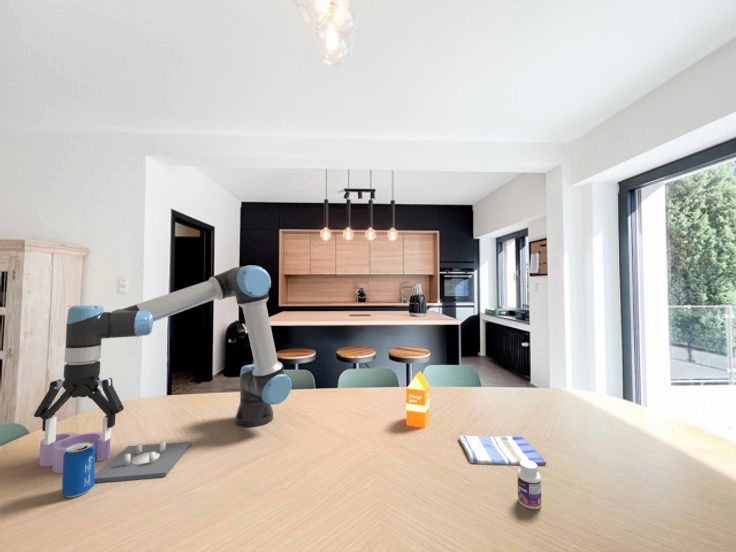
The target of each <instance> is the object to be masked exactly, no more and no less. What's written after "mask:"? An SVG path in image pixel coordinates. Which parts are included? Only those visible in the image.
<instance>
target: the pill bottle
mask: <svg viewBox="0 0 736 552" xmlns="http://www.w3.org/2000/svg"><path fill="white" fill-rule="evenodd" d="M516 474H517V500H518V503H519V504H520V505H522V506H523V507H525V508H527V509H530V510H539V509H541V507H542V477H541V475H540V473H539V472H538V465H537V464H536V463H534V462H532V461H529V460H522V461H521V462H520V465H519V469H518V470H517V473H516Z"/></svg>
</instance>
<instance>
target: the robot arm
mask: <svg viewBox="0 0 736 552" xmlns="http://www.w3.org/2000/svg"><path fill="white" fill-rule="evenodd" d="M271 284H272V280H271V276H270V274H269V273H268V271H267V270H266V269H265V268H263V267H261V266H259V265H251V264H250V265H246V266H245V265H244V266H237V267H233V268H230V269H228V270H225V271H223V272H221V273H219V274H215V275H213V276H210V277H209V278H208V280H206V281H203V282H200V283H197V284H194V285H190V286H187V287H184V288H182V289H178V290H176V291H173V292H169V293H167V294H164V295H161V296H158V297H154V298H151V299H149V300H146V301H142V302H140V303H139V302H138V303H136V304H134V305H130V306H128V307H125V308H118V309H115V310H112V311H111V312H110V311H105V310H104V306H103V305H73V306H70V307H69V308H68V310H67V317H66V322H65V323H66V326H65V328H66V329H65V348H64V360H63V361H64V363H66V364H65V365H64V366H63V378H64V380H62V379H60V378H59V379H56V380H52V381H51V382H49V385H48V391H47V392H46V393H45V396H44V397H43V399H42V400H41V402H40V403H39V405H38V407H37V409H36V411H35V412H34V413H33V417H34V418H39V419H42V426H41V427H42V430H41V431H42V432H44V439H45V443H44V445H48V444H50V443H52V442H54V441H56V434H57V423H58V416H57V415H56V413H57V412H58V411H59V410H60V409H61V407H63V405H64V404H65V403H67V402H68V401H69V399H70V398H73V399H75V398H78V397H79V398H86V397H87V398H88V399H90V400H92V401H93V402H94V403H95V404H96V405H97V407H98V408H100V410H101V411H102V412H103V413H104V414H105V415H104V416H103V417H102V442H105V441H107V440H108V439H110V440H111V438H112V428H113V427H115V425H116V414H119V413H121V412H123V411H124V409H125V408H124V407H125V406H124V404H123V403H122V401H121V399H120V397H119V395H118V393H117V391H116V389H115V387H114V385H113V378H112V377H108V378H105V379H100V374H101V361H100V359H101V356H102V355H101V354H102V353H101V352H102V339H103V340H105V339H111V338H112V339H115V338H116V339H117V338H130V337H131V338H132V337H134V338H135V337H137V338H139V337H144V336H149V335H151V333H152V332H153V327H154V322H156V321H157V322H158V321H159V320H162V319H164V318H168V317H170V316H173V315H175V314H178V313H181V312H184V311H186V310H189V309H192V308H195V307H198V306H199V305H203V304H206V303H208V302H211V301H214V300H218V301H220V300H223V299H226V298H232V297H235V300H236V305H238V306H239V307H241V308H242V311H243V312H242V313H243V315H244V316H243V318H244V321H245V326H246V331H247V334H248V340H249V343H250V345H249V346H250V348H251V353H252V357H253V363H252V364H247V365H243V366H242V367H241V369H240V374H239V377H240V379H239V380H240V381H239V384H240V387H239V388H240V390H239V391H240V392H239V395H240V396H239V398H240V399H239V405H238V408H237V411H236V414H235V417H234V418H235V419H234V420H235V421H234V422H235V424H236V425H237V426H240V427H246V428H250V427H252V428H253V427H259V426H263V425H266V424H267V423H270V422H272V420H274V410H273V406H275V405H280V404H281V403H283V402H284V401H285V400H287V398H288V397H289V394H290V393H291V391H292V387H293V386H292V385H293V384H292V380H291V378H290V377H289V376H288V375H287V374H285V370H284V366H283V363H282V362H281V361H278V356H277V351H276V346H275V341H274V337H273V331H272V326H271V322H270V318H269V313H268V307H267V302H268V300H269V298H270V297H269V291H270V288H271V286H272V285H271ZM99 387H100V388H102V390H100V388H99ZM62 388H63V389H64V390H65V391H63V393H62V394H61V395H60V396H59V398H58V399H57V400H56V401H55V402H54V400H55V399H56V397H57V396H58V393H60V390H61V389H62ZM102 391H103V393H104V395H105V396H104V395H103V394H102ZM53 402H54V403H53ZM272 405H273V406H272Z"/></svg>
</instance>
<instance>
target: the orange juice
mask: <svg viewBox="0 0 736 552" xmlns="http://www.w3.org/2000/svg"><path fill="white" fill-rule="evenodd" d="M405 389H406V390H405V391H406V397H405V399H406V404H405V409H406V426H409V427H410V426H411V427H417V428H422V429H425V428H426V427H427V425H428V423H429V422H430V384H429V383H428V381H427V379H426V377H425V376H424V374H422V371H421V370H419V371H418V372H417V373H416V375H414V377H413V379H412V380H411V381H410V383H409V385H408V386H407V387H406V388H405Z"/></svg>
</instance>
